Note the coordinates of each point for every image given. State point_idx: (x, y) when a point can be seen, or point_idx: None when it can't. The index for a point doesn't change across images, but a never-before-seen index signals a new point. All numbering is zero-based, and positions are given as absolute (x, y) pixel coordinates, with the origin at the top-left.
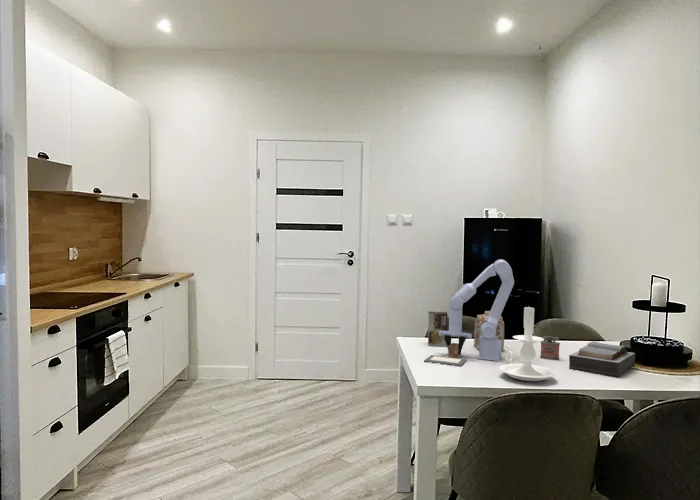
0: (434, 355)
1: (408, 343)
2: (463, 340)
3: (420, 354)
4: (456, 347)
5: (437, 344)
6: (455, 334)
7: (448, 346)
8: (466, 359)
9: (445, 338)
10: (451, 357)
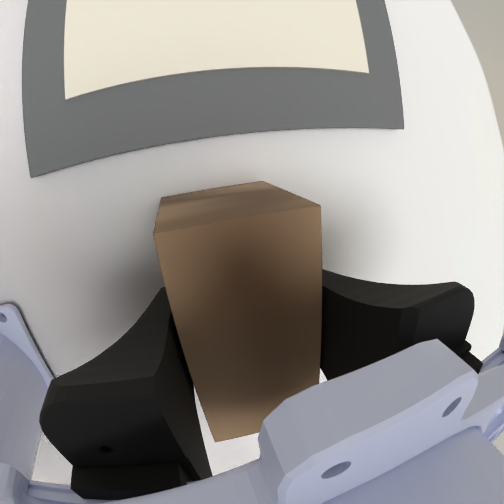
0: (380, 121)
1: (487, 349)
2: (48, 389)
3: (458, 155)
4: (167, 227)
5: None
6: (276, 456)
7: (314, 205)
8: (33, 157)
9: (449, 288)
10: (204, 129)
